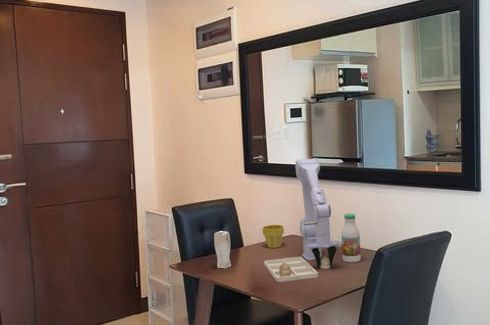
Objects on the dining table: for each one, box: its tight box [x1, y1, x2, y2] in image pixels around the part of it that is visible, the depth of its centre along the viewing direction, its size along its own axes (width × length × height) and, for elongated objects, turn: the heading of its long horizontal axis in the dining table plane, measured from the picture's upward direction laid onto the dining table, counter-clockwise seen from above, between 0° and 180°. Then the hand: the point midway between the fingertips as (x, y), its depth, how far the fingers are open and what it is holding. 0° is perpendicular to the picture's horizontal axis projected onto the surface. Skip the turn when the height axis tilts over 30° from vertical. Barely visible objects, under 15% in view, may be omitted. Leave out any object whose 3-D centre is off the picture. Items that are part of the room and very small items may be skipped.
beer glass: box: [213, 230, 232, 269], centre depth 225 cm, size 7×7×15 cm
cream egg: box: [319, 254, 331, 270], centre depth 213 cm, size 4×4×6 cm
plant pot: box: [262, 224, 285, 249], centre depth 254 cm, size 10×10×10 cm
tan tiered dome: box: [279, 263, 291, 277], centre depth 203 cm, size 4×4×6 cm
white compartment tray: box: [263, 256, 320, 283], centre depth 212 cm, size 25×17×2 cm
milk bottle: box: [341, 213, 362, 263], centre depth 222 cm, size 8×8×20 cm
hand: (324, 265), depth 214 cm, fingers closed on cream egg, 4 cm apart
